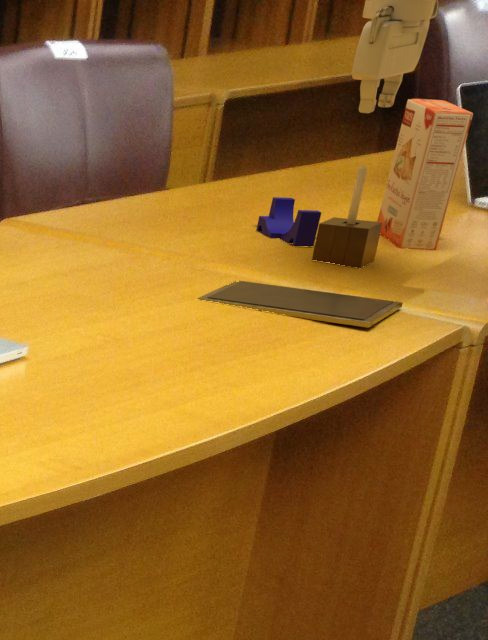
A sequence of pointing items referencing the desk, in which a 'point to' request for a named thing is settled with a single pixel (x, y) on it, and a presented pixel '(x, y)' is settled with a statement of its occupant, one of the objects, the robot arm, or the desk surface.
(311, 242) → the cable clip
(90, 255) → the desk surface
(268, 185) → the desk surface
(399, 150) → the cracker box
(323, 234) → the pen stand
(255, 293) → the tablet
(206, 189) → the desk surface
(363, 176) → the stylus
